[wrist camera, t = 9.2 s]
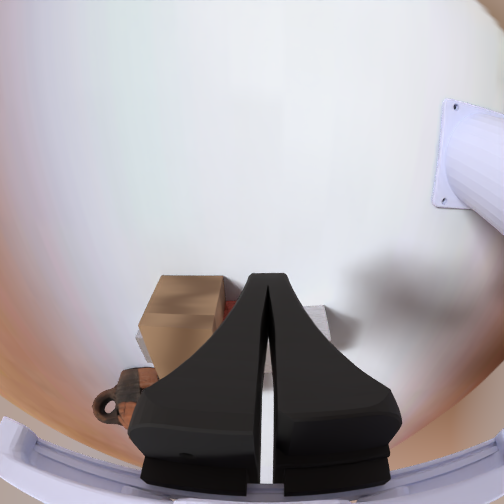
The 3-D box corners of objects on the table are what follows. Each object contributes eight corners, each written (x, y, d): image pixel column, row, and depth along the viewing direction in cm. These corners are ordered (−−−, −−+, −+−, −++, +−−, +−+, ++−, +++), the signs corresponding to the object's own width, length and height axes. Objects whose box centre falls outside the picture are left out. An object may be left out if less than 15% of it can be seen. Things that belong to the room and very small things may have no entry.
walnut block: (222, 275, 23) (211, 329, 18) (234, 371, 29) (229, 419, 24) (161, 275, 24) (138, 325, 19) (187, 369, 30) (176, 415, 25)
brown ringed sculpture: (180, 361, 30) (193, 436, 26) (189, 376, 38) (199, 434, 34) (78, 368, 28) (84, 439, 24) (106, 382, 36) (113, 439, 31)
